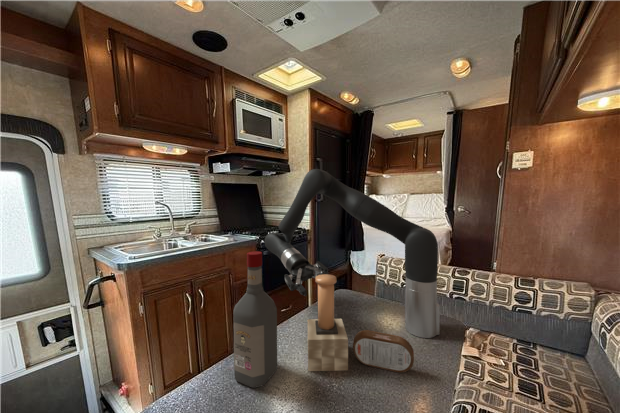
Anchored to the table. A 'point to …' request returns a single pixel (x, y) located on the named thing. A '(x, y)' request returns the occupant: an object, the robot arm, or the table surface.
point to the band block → (327, 347)
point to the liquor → (255, 329)
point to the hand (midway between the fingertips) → (317, 288)
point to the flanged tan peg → (325, 301)
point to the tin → (383, 351)
